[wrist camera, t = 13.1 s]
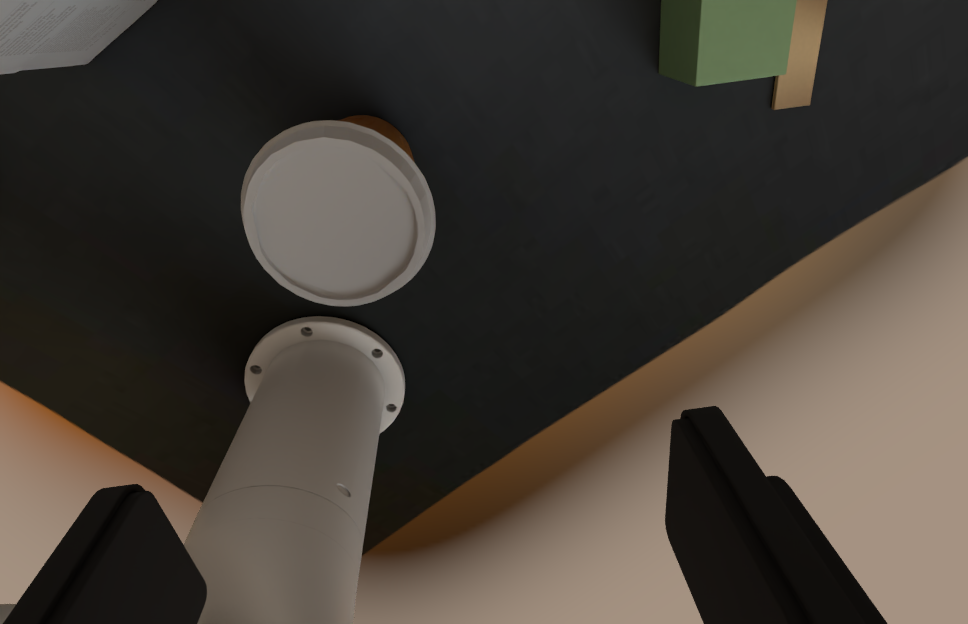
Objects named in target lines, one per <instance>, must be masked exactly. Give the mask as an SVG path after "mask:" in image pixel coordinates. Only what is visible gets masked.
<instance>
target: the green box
mask: <svg viewBox="0 0 968 624" xmlns="http://www.w3.org/2000/svg"><path fill="white" fill-rule="evenodd" d="M796 2H797V0H661V21H660V47H659V74H661V75H664V76H667V77H670V78H673V79H676V80H678V81H681V82H684V83H687V84H690V85H693V86H696V87H697V86H704V85H712V84H719V83H726V82H734V81H741V80H749V79H756V78H763V77H771V76H778V75H785V74H786V71H787V64H788V57H789V50H790V44H791V37H792V30H793V23H794V16H795V9H796Z"/></svg>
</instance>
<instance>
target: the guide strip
mask: <svg viewBox="0 0 968 624" xmlns="http://www.w3.org/2000/svg"><path fill="white" fill-rule="evenodd" d="M826 6H827V0H797V2H796V9H795V16H794V23H793V30H792V37H791V44H790V50H789V57H788V64H787V71H786V74H785V75H778V76H776V78H775V85H774V93H773V100H772V107H771V109H774V110H777V109H784V108H791V107H799V106H806V105H810V100H811V94H812V89H813V83H814V77H815V71H816V65H817V59H818V53H819V47H820V41H821V35H822V29H823V23H824V17H825V11H826Z"/></svg>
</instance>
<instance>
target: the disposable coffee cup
mask: <svg viewBox="0 0 968 624" xmlns="http://www.w3.org/2000/svg"><path fill="white" fill-rule="evenodd" d="M241 213H242V219H243V225H244V228H245V232H246V235H247V238H248V241H249V244H250V247H251V249H252V251H253V252H254V254H255V256H256V258H257V260H258V261H259V262H260V264H261V265H262V266H263V268H264V269H265V270H266V271H267V272H268V273H269V274H270V275H271V276H272V277H273V278H274V279H275V280H276V281H277V282H278V283H279V284H280V285H282V286H284V287H285V288H287V289H288V290H290V291H292V292H293V293H295V294H296V295H298V296H301V297H303V298H306V299H308V300H310V301H313V302H317V303H321V304H326V305H331V306H357V305H362V304H366V303H370V302H374V301H376V300H378V299H381V298H383V297H385V296H387V295H389V294H391V293H392V292H394V291H396V290H398V289H400V288H401V287H402V286H403V285H405V284H406V283H407V282H408V281H410V280H411V279H412V278H413V277H414V276H415V275H416V273H417V272H418V271H419V270H420V268H421V267H422V265H423V264H424V262H425V261H426V259H427V257H428V255H429V252H430V250H431V247H432V244H433V240H434V234H435V228H436V223H435V208H434V203H433V198H432V195H431V192H430V189H429V187H428V184H427V182H426V179H425V177H424V176H423V174H422V173H421V171H420V170H419V168H418V167H417V165H416V164H415V162H414V160H413V156H412V152H411V150H410V147H409V145H408V143H407V141H406V140H405V138H404V137H403V135H402V134H401V133H400V132H399V131H398V130H397V129H396V128H395V127H394V126H392V125H391V124H390V123H388V122H386V121H384V120H382V119H380V118H377V117H373V116H368V115H355V116H349V117H347V118H344V119H341V120H338V121H334V120H324V121H312V122H307V123H303V124H300V125H297V126H294V127H292V128H289V129H287V130H285V131H283V132H281V133H280V134H279V135H277V136H276V137H274V138H273V139H271V140H270V141H268V142H267V143H266V144H265V145H264V146H263V148H262V149H261V150H260V151H259V152H258V154H257V155H256V156H255V157H254V158H253V160H252V162H251V164H250V166H249V168H248V170H247V172H246V174H245V177H244V182H243V186H242V191H241Z"/></svg>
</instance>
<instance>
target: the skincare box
mask: <svg viewBox="0 0 968 624" xmlns="http://www.w3.org/2000/svg"><path fill="white" fill-rule="evenodd" d="M157 1H158V0H0V74H9V73H16V72H18V71H21V70H32V69H44V68H55V67H66V66H74V65H85V64H88V63H89V62H90V61H91V60H92V59H93V58H94V57H95V56H97V55H98V54H99V53H100V52H101V51H102V50H103V49H104V48H106V47H107V46H108V45H109V44H110V43H111V42H112V41H113V40H115V39H116V38H117V37H118V36H119V35H120V34H121V33H123V32H124V31H125V30H126V29H127V28H128V27H129V26H131V25H132V24H133V23H134V22H135V21H136V20H137V19H138V18H139V17H141V16H142V15H143V14H144V13H145V12H146V11H147V10H148V9H149V8H150V7H152V6H153V5H154V4H155V3H156V2H157Z"/></svg>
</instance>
